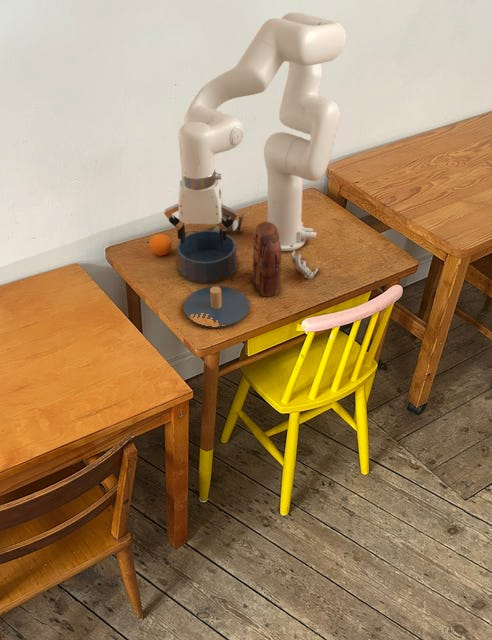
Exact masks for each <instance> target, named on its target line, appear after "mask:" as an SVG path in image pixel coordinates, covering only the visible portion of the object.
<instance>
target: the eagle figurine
mask: <svg viewBox="0 0 492 640" xmlns="http://www.w3.org/2000/svg"><path fill="white" fill-rule="evenodd" d="M244 215H245V213H244V212H243V213H242V214H241V216H239V217H238V219H235V220H234V222H233V224H232V225H231V226H230V227H229V228H227V233H228V232H230V230H231V229H232V230H233V231H236V230H237V232H238V233H239V234H241V229H242V224H243V219H244ZM222 217H223V218H224V219H225V220H227V219H228V218H229V217H230V216H229V215H227V214H225V213H223V215H222ZM210 230H212V231H219V232H220V228H219V227H218V226H217V225H216V226H214V227H212V228H211V229H210Z"/></svg>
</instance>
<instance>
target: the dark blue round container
mask: <svg viewBox="0 0 492 640" xmlns="http://www.w3.org/2000/svg"><path fill="white" fill-rule="evenodd" d="M176 253H177V255H176V256H177V265H178V269H179V273H180V274H181V275H182V276H183V277H184V278H185V279H187V280H189V281H191V282H194V283H200V284H212V283H218V282H221V281H223V280H226V279H227V278H230V277H231V276H232V275H233V274H234V273H235V271H236V269H237V263H238V262H237V259H238V258H237V244H236V242H235V239H234V238H233V237H231V236H230V235H229V234H228V233H227V240H224V244H223V245H220V232H219V231H212V230H211V229H210V230H209V229H205V230H197V231H193V232H191V233H187V234H185V241H184V243H183V244H181V241H180V240H179V241H178V243H177V246H176Z"/></svg>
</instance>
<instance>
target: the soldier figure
mask: <svg viewBox="0 0 492 640" xmlns="http://www.w3.org/2000/svg"><path fill="white" fill-rule="evenodd" d="M295 254H296V249H295V250H292V252H291V254H289V258H292V259H293V260H294V263H295V267H296V271H297V272H298V273H300V274H303V276H304V278H306V279H308V280H309V282H311V281H312V280H314V276H315V275H316V274H317V272H318V271H319V268H318V267H315V270H313V271H311V269H310V268H309V267H308V266H307V263H306V261H305V260H302V257H303V256H302V254H301V253H298V254H297V255H295Z"/></svg>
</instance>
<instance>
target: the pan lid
mask: <svg viewBox="0 0 492 640" xmlns="http://www.w3.org/2000/svg"><path fill="white" fill-rule="evenodd" d="M249 306H250V304H249V301H248V298H247V297H246V296H245V295H244V294H243V293H242V292H241V291H239V290H237V289H235V288H233V287H228V286H220V285H216V286H207V287H204V288H200V289H198V290H196V291H194V292H192V293H191V294H190V295H189V296H188V297H187V298H186V300H185V302H184V305H183V310H184V314H185V316H186V317H187V319H188V320H189V321H191V322H192V323H194V324H196V325H198V326H200V327H204V328H209V329H211V328H212V329H216V328H225V327H229V326H233V325H235V324H237V323H239V322H240V321H242V320H243V319H244V318H245V317H246V315H247V314H248V311H249V308H250V307H249ZM201 313H204V314H203V316H202V318H205V316H206V314H209V315H208V317H207V319H210V318H211V317H212V318H213V319H212V320H213V321H214V323H215V322H216V320H218V323H219V325H220V326H218V327H212V326H205V325H201V324H198V323H196V322H194V321H192V320H191V319H190V315H191V314H194V316H193V318H194V317H195V315H196V314H198V317H197V318H199V317H200V315H201ZM188 316H189V317H188ZM222 325H225V326H222Z"/></svg>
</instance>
